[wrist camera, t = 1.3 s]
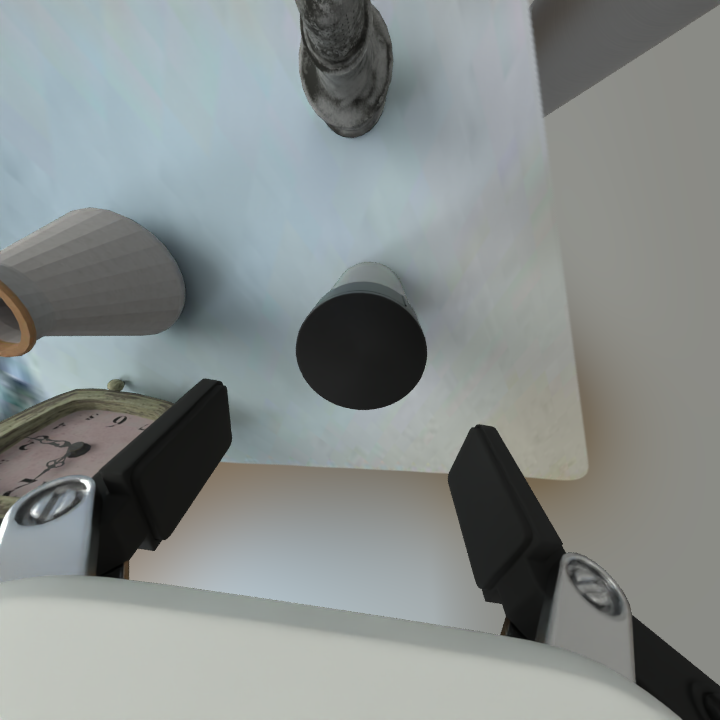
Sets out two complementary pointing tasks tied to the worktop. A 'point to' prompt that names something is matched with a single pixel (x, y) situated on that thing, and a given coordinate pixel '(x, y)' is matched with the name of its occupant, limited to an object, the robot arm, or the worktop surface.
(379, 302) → the jar lid
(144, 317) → the coffee pot
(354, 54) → the grey stepped cylinder
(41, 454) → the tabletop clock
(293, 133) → the worktop surface
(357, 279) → the jar
